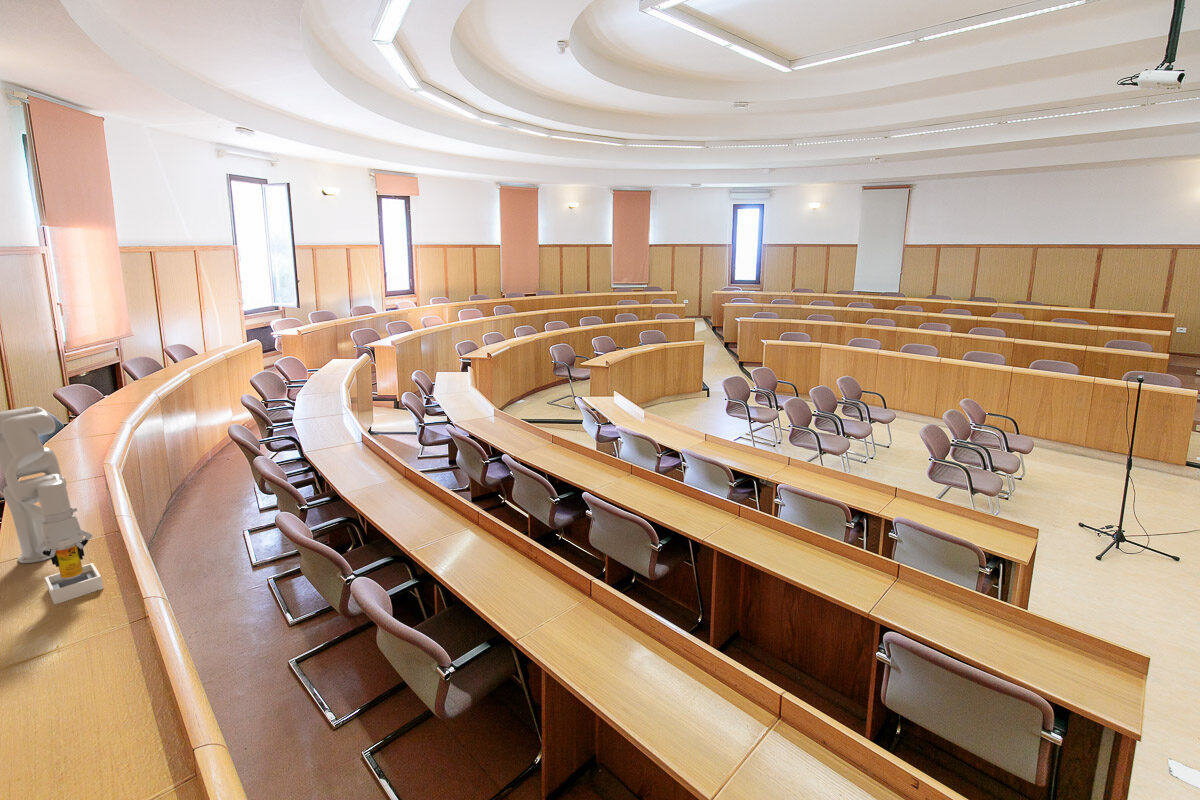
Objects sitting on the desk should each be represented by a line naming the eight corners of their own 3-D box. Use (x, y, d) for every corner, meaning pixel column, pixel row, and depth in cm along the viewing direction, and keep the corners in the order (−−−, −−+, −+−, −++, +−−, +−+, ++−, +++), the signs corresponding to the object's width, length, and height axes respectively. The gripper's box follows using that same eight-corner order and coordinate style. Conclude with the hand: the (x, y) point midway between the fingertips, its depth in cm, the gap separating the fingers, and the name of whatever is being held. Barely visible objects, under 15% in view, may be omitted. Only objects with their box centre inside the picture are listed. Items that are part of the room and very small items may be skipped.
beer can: (70, 581, 217) (61, 542, 213) (56, 579, 218) (47, 540, 214) (87, 572, 223) (79, 534, 219) (74, 570, 224) (65, 532, 220)
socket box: (47, 589, 222) (44, 577, 220) (95, 574, 231) (92, 562, 230) (54, 604, 213) (51, 591, 212) (103, 588, 223) (100, 576, 221)
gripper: (87, 504, 223) (97, 549, 228) (23, 520, 211) (35, 567, 215) (91, 510, 218) (101, 556, 223) (26, 527, 206) (38, 575, 211)
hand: (69, 561), depth 219 cm, fingers closed on beer can, 6 cm apart
